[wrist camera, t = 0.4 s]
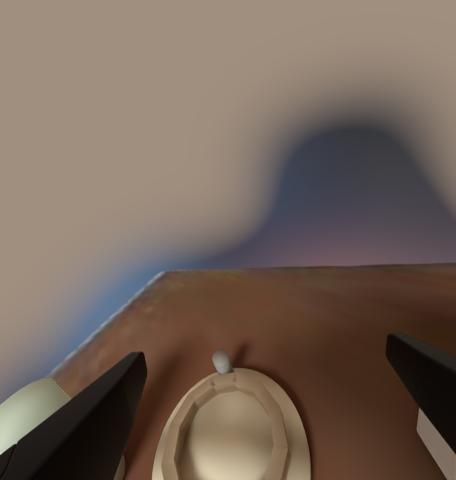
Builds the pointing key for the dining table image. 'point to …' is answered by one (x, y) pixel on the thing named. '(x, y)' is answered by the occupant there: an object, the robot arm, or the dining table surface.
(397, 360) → the robot arm
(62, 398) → the post
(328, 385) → the dining table surface
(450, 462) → the medicine bottle
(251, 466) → the flange plate
